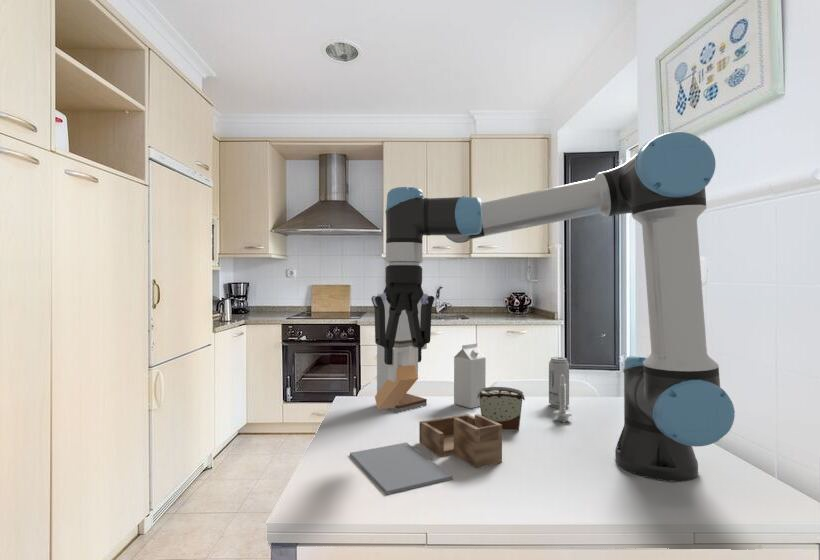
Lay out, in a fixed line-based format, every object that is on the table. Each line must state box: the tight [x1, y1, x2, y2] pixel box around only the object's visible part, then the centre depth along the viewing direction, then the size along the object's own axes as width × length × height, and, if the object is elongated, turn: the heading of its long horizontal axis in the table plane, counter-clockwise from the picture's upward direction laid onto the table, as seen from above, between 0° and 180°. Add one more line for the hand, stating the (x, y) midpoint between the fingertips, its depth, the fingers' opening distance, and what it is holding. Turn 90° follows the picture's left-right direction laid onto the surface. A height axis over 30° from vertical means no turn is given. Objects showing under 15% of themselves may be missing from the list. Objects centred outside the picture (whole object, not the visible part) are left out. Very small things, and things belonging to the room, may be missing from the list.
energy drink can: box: [548, 356, 570, 409], centre depth 136 cm, size 6×6×15 cm
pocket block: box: [418, 413, 503, 469], centre depth 100 cm, size 18×14×8 cm
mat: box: [349, 442, 453, 495], centre depth 91 cm, size 20×14×1 cm
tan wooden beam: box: [374, 365, 419, 411], centre depth 92 cm, size 14×4×3 cm
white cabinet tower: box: [376, 293, 428, 413], centre depth 137 cm, size 11×11×35 cm
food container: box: [477, 386, 526, 432], centre depth 117 cm, size 12×6×10 cm, turn 84°
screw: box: [553, 374, 573, 423], centre depth 122 cm, size 13×5×5 cm
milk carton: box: [453, 343, 487, 409], centre depth 138 cm, size 7×7×19 cm
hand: (402, 379), depth 89 cm, fingers closed on tan wooden beam, 4 cm apart
